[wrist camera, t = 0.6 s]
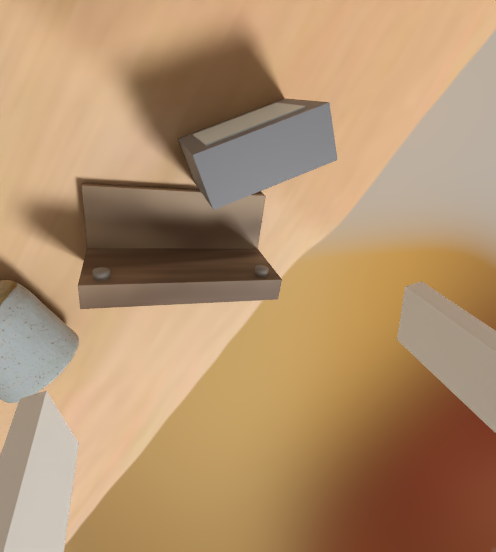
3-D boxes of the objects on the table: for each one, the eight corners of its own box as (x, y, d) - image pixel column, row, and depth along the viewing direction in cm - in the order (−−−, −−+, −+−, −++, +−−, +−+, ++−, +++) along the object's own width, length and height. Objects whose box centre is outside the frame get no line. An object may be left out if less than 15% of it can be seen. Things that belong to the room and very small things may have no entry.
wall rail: (82, 183, 28) (69, 211, 22) (262, 193, 33) (293, 219, 27) (89, 264, 32) (80, 308, 25) (252, 262, 37) (277, 299, 30)
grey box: (177, 137, 29) (192, 153, 22) (283, 97, 30) (328, 100, 23) (195, 183, 31) (213, 210, 24) (293, 144, 32) (337, 159, 25)
